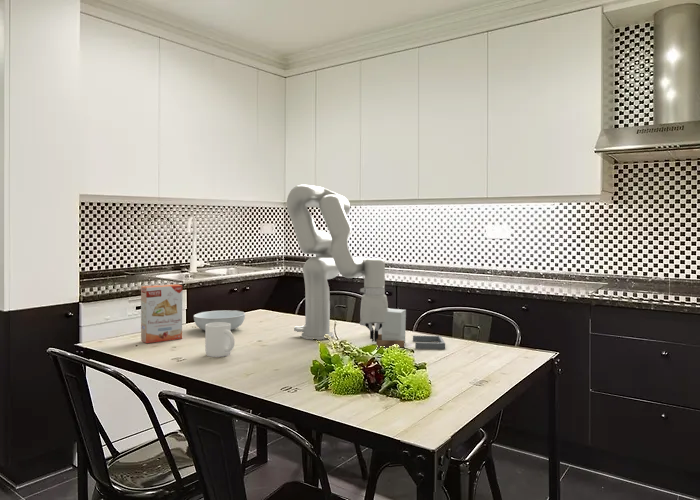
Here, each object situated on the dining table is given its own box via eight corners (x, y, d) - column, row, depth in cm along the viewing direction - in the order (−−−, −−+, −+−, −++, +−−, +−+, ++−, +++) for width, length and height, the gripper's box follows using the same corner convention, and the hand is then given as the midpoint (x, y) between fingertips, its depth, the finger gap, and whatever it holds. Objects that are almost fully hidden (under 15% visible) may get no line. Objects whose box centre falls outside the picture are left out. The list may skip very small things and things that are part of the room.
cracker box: (146, 344, 197) (146, 287, 196) (140, 341, 201) (140, 285, 200) (183, 339, 206) (182, 284, 205) (176, 336, 210) (176, 283, 209)
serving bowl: (222, 323, 238) (222, 308, 238) (255, 329, 226) (255, 313, 226) (182, 331, 221) (182, 314, 221) (216, 337, 209) (216, 320, 209)
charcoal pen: (415, 348, 192) (415, 342, 192) (412, 340, 205) (412, 335, 205) (445, 348, 192) (445, 343, 192) (440, 341, 205) (440, 335, 205)
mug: (243, 355, 180) (243, 325, 180) (223, 360, 173) (223, 329, 173) (220, 350, 187) (219, 321, 187) (200, 355, 181) (200, 324, 180)
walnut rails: (376, 347, 193) (376, 340, 193) (376, 340, 205) (376, 334, 205) (404, 348, 193) (404, 341, 193) (402, 340, 205) (402, 334, 205)
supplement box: (405, 343, 201) (406, 309, 200) (400, 347, 194) (401, 312, 193) (386, 341, 204) (387, 307, 203) (380, 345, 197) (381, 310, 196)
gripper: (353, 292, 195) (353, 342, 196) (395, 293, 194) (394, 343, 195) (354, 290, 202) (354, 338, 203) (394, 290, 202) (393, 339, 203)
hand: (374, 340), depth 199 cm, fingers closed
